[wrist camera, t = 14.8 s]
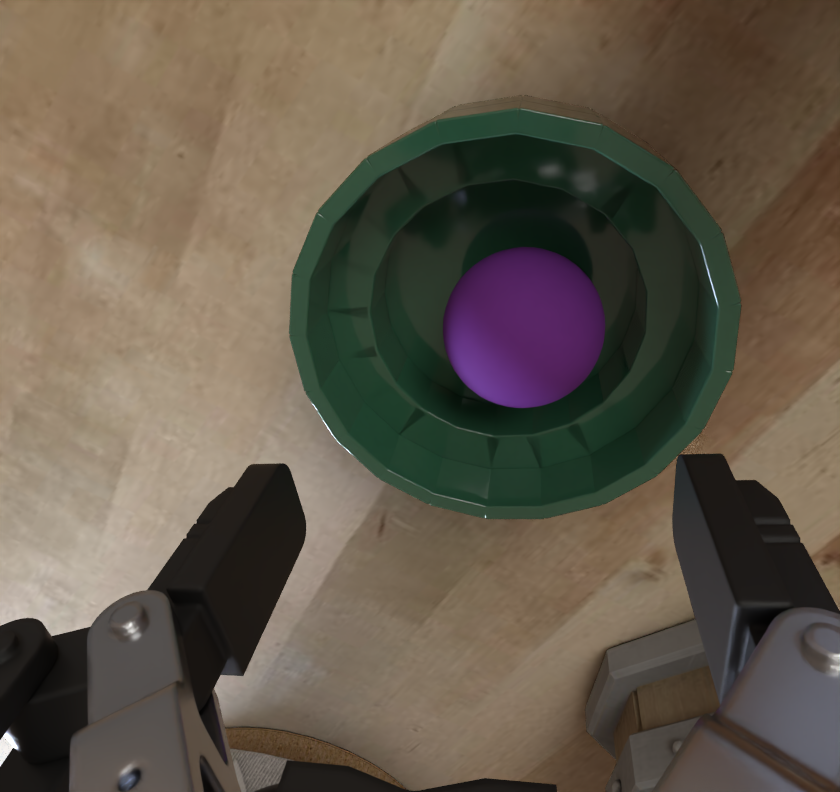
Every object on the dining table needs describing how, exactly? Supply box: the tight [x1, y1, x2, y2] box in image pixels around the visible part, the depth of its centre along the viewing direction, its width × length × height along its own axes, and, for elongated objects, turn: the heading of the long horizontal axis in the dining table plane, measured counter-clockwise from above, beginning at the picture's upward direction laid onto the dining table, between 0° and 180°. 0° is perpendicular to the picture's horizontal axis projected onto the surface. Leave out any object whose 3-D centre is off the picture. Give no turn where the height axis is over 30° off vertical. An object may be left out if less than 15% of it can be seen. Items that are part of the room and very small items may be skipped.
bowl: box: [289, 95, 741, 519], centre depth 20 cm, size 13×13×5 cm
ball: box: [443, 247, 605, 408], centre depth 19 cm, size 5×5×5 cm
